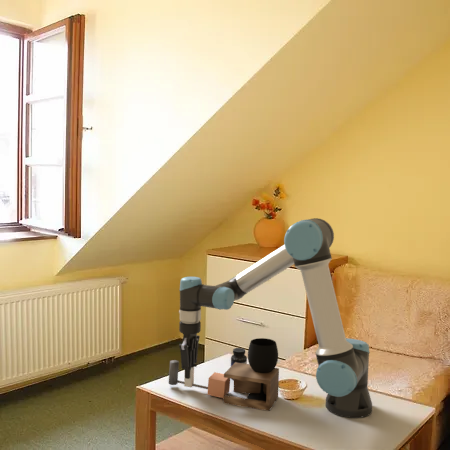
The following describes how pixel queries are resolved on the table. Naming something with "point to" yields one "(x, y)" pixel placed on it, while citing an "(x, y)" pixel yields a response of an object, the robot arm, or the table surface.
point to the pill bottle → (238, 356)
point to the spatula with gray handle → (216, 385)
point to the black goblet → (262, 361)
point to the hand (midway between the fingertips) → (189, 385)
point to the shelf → (252, 386)
